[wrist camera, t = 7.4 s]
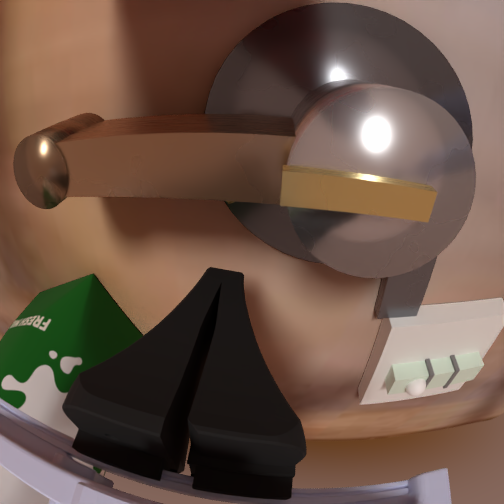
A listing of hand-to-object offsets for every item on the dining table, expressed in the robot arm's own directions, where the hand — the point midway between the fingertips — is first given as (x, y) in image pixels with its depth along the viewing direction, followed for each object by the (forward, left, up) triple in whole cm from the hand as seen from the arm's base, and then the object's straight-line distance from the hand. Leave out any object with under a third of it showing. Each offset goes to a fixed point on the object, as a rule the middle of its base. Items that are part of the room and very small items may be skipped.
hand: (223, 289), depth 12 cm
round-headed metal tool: (-1, -6, -2) cm, 6 cm away
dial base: (-5, -3, -3) cm, 7 cm away
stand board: (-12, +9, -3) cm, 15 cm away
